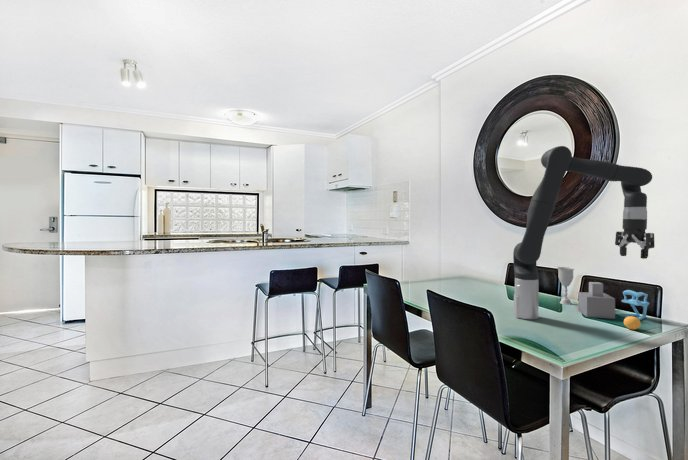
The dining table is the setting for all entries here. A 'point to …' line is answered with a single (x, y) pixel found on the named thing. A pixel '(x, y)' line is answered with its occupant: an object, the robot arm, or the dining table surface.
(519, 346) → the dining table surface
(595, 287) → the gray block
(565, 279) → the chalice
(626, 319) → the ball
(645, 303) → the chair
